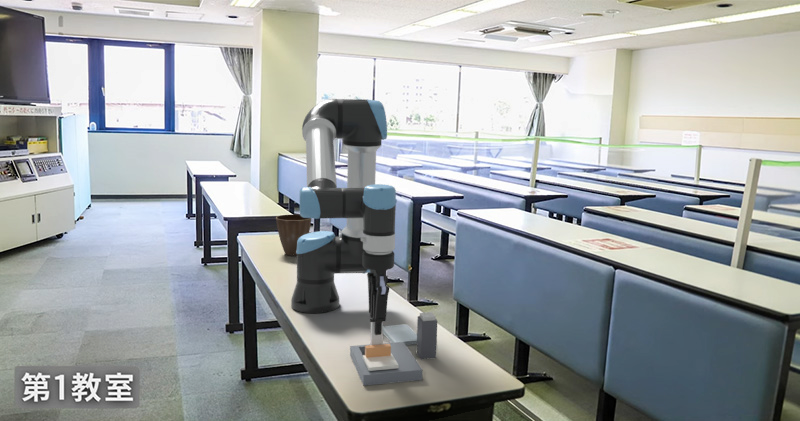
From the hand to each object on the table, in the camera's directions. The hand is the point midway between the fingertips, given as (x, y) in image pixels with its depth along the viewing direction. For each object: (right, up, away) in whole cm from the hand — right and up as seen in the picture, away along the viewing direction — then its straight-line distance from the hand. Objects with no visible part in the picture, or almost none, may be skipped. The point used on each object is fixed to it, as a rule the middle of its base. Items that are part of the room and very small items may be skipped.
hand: (376, 345), depth 142 cm
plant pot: (-40, +14, +109) cm, 117 cm away
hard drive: (+6, -3, +21) cm, 22 cm away
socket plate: (+2, -5, +1) cm, 6 cm away
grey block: (+12, -4, +8) cm, 15 cm away
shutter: (+1, -3, -4) cm, 5 cm away
